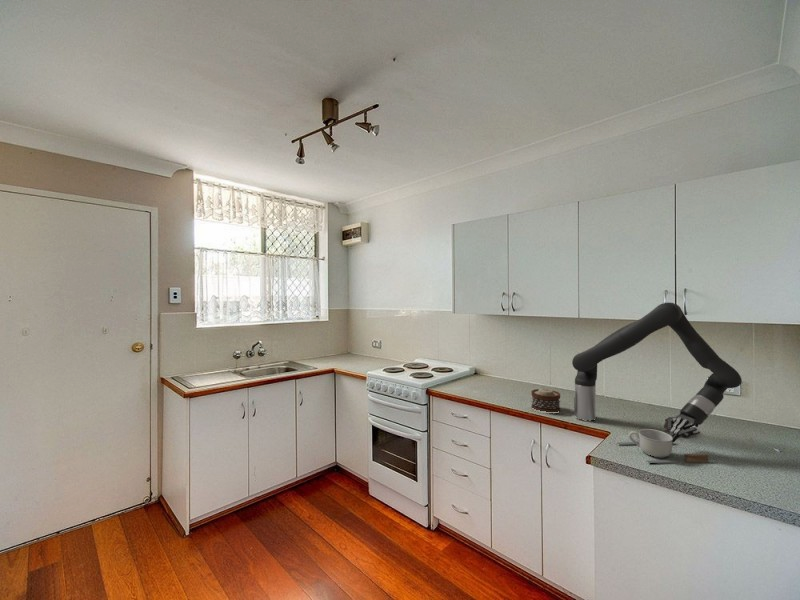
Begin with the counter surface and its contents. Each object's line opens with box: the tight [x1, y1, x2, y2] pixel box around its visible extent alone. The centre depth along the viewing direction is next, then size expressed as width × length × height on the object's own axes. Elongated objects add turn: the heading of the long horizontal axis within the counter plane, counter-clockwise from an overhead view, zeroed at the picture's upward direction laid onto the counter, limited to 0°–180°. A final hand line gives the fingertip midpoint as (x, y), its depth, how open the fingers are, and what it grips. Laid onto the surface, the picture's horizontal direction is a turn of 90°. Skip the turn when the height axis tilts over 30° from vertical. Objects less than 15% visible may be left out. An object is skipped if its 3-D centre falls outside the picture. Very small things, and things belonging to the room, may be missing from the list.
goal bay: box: [616, 441, 676, 465], centre depth 137 cm, size 18×10×1 cm, turn 4°
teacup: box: [628, 428, 673, 459], centre depth 137 cm, size 14×11×8 cm
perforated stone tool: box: [663, 416, 676, 434], centre depth 158 cm, size 15×5×7 cm, turn 118°
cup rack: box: [684, 453, 709, 464], centre depth 138 cm, size 17×8×2 cm, turn 4°
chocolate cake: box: [530, 388, 561, 412], centre depth 190 cm, size 15×11×15 cm
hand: (668, 441), depth 138 cm, fingers closed
